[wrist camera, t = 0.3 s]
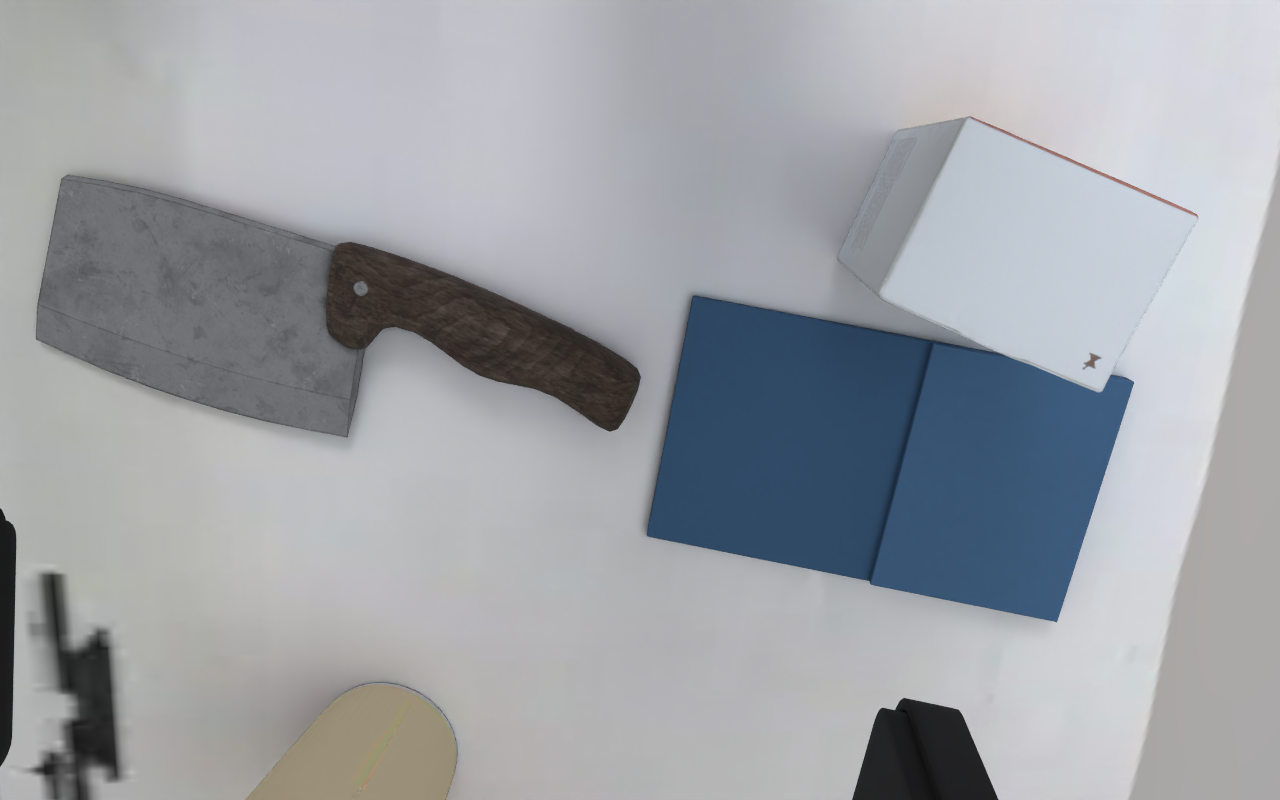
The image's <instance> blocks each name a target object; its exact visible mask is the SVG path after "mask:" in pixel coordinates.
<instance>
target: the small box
mask: <svg viewBox="0 0 1280 800" xmlns="http://www.w3.org/2000/svg"><path fill="white" fill-rule="evenodd" d="M1197 220H1198V215H1197V214H1195V213H1193V212H1191V211H1189V210H1187V209H1185V208H1182V207H1180V206H1178V205H1176V204H1173V203H1171V202H1169V201H1166V200H1164V199H1162V198H1160V197H1157V196H1155V195H1153V194H1150V193H1148V192H1146V191H1144V190H1141V189H1139V188H1137V187H1134V186H1132V185H1130V184H1128V183H1125V182H1123V181H1121V180H1118V179H1116V178H1114V177H1111V176H1109V175H1106V174H1104V173H1102V172H1099V171H1097V170H1095V169H1092V168H1090V167H1088V166H1085V165H1083V164H1081V163H1078V162H1076V161H1074V160H1072V159H1069V158H1067V157H1065V156H1062V155H1060V154H1058V153H1055V152H1053V151H1050V150H1048V149H1046V148H1043V147H1041V146H1039V145H1036V144H1034V143H1031V142H1029V141H1027V140H1024V139H1022V138H1020V137H1017V136H1015V135H1013V134H1011V133H1009V132H1007V131H1004V130H1002V129H999V128H997V127H994V126H992V125H990V124H987V123H985V122H982V121H980V120H978V119H975V118H973V117H970V116H969V117H965V118H959V119H954V120H949V121H944V122H939V123H933V124H928V125H923V126H918V127H911V128H906V129H901V130H898V131H897V132H896V134H895V136H894V138H893V140H892V143H891V145H890V147H889V149H888V151H887V153H886V155H885V157H884V159H883V162H882V164H881V166H880V168H879V170H878V172H877V174H876V176H875V178H874V181H873V183H872V185H871V187H870V189H869V191H868V193H867V195H866V197H865V200H864V202H863V204H862V206H861V208H860V210H859V212H858V214H857V216H856V219H855V221H854V223H853V225H852V227H851V229H850V231H849V233H848V235H847V238H846V240H845V242H844V244H843V246H842V248H841V250H840V252H839V255H838V258H837V260H838V261H839V262H840V263H841V264H842V265H844V266H845V267H846V268H847V269H848V270H849V271H851V272H852V273H853V274H854V275H855V276H856V277H857V278H858V279H859V280H860V281H861V282H863V283H864V284H865V285H866V286H867V287H868V288H869V289H870V290H871V291H872V292H873V293H875V294H876V295H877V296H878V297H879V298H881V299H882V300H884V301H886V302H888V303H890V304H892V305H894V306H896V307H899V308H901V309H903V310H905V311H908V312H910V313H912V314H914V315H916V316H919V317H921V318H923V319H925V320H928V321H930V322H932V323H934V324H936V325H939V326H941V327H943V328H945V329H948V330H950V331H952V332H954V333H956V334H959V335H961V336H963V337H965V338H968V339H970V340H972V341H974V342H976V343H978V344H980V345H983V346H985V347H987V348H989V349H991V350H994V351H996V352H999V353H1001V354H1003V355H1005V356H1007V357H1010V358H1012V359H1015V360H1018V361H1022V362H1024V363H1027V364H1030V365H1032V366H1035V367H1037V368H1039V369H1042V370H1044V371H1047V372H1049V373H1051V374H1054V375H1056V376H1059V377H1061V378H1063V379H1066V380H1068V381H1071V382H1073V383H1075V384H1078V385H1080V386H1083V387H1085V388H1088V389H1090V390H1093V391H1096V392H1102V391H1103V389H1104V387H1105V385H1106V383H1107V381H1108V379H1109V377H1110V375H1111V373H1112V371H1113V370H1114V368H1115V366H1116V364H1117V362H1118V360H1119V358H1120V357H1121V355H1122V353H1123V351H1124V350H1125V348H1126V346H1127V344H1128V343H1129V341H1130V339H1131V337H1132V336H1133V334H1134V332H1135V330H1136V328H1137V327H1138V325H1139V323H1140V321H1141V320H1142V318H1143V316H1144V314H1145V313H1146V311H1147V309H1148V307H1149V305H1150V304H1151V302H1152V300H1153V298H1154V296H1155V295H1156V293H1157V291H1158V289H1159V287H1160V286H1161V284H1162V282H1163V280H1164V278H1165V277H1166V275H1167V273H1168V271H1169V270H1170V268H1171V266H1172V264H1173V263H1174V261H1175V259H1176V257H1177V255H1178V254H1179V252H1180V250H1181V248H1182V246H1183V245H1184V243H1185V241H1186V239H1187V237H1188V235H1189V234H1190V232H1191V230H1192V229H1193V227H1194V225H1195V223H1196V222H1197Z"/></svg>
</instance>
